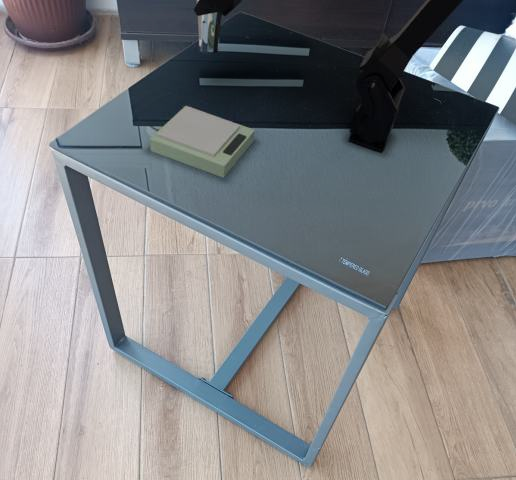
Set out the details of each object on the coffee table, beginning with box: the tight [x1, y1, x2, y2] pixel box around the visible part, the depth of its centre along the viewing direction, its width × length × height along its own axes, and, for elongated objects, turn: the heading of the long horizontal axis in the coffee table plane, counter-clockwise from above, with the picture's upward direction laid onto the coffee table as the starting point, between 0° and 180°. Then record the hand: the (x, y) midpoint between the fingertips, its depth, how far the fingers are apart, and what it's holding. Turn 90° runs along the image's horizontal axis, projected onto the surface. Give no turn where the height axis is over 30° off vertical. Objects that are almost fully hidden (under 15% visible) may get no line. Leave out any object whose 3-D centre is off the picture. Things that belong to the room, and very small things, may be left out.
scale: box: [149, 105, 256, 179], centre depth 81 cm, size 13×12×3 cm
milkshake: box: [195, 0, 223, 56], centre depth 83 cm, size 4×5×10 cm
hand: (202, 7), depth 82 cm, fingers closed on milkshake, 5 cm apart
